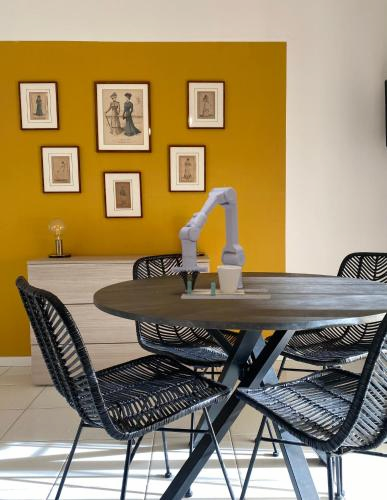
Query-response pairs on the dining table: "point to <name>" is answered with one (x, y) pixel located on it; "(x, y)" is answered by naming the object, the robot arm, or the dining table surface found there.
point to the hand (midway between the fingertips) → (189, 290)
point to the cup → (228, 278)
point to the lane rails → (227, 296)
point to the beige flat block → (189, 286)
